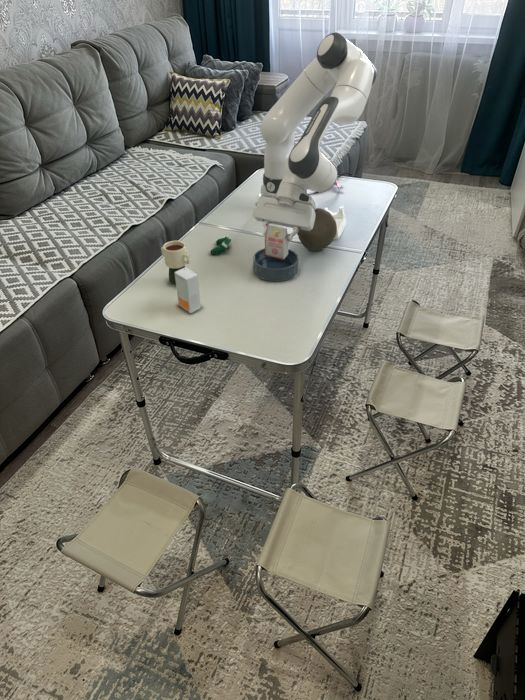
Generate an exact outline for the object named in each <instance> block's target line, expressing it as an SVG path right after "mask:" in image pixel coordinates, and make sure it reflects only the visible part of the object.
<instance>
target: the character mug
mask: <svg viewBox="0 0 525 700" xmlns="http://www.w3.org/2000/svg"><path fill="white" fill-rule="evenodd" d="M160 251H161V256H162V257H163V258H164V259H163V260H164V264H165V266H166V267H167V268H168V282H169V283H170V284H171V285H174V286H176V281H175V272H176V271H178V270H180V269H183V268H186V265H190V264H191V259H190V255H189V254H188V251H187V246H186V243H185V242H184V241H181V240H171V241H167V242H165V243H164V244H163V245H162V246H161V248H160Z"/></svg>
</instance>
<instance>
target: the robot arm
mask: <svg viewBox="0 0 525 700" xmlns="http://www.w3.org/2000/svg"><path fill="white" fill-rule="evenodd" d="M377 71H378V70H377V68H376V67H375V65H374V63H373V62H372V61H370V60H369V59H368V57H367V56H366V54H365V53H363V51H362V50H361V49H360V48H359V47H356V45H354V44H353V43H352V42H351V41H349V40H348V39H347V37H346V36H344V35H343V34H341V33H340V32H337V31H334V32H331V33H329V34H327V35H325V37H324V38H323V39H322V41H321V42H320V44H319V45H318V47H317V51H316V56H315V58H314V59H312V60H311V62H310V63H309V64H308V65H307V66H306V67H305V68H304V69H303V71H301V73H300V74H299V75H298V76H297V77H296V79H295V80H294V81H293V82H292V83H291V85H290V86H289V87H287V89H286V91H285V92H284V93H283V94H282V95H281V97H279V99H278V100H277V101H276V102H275V103H274V105H273V106H272V107H271V108H270V109H269V110H268V111H267V113H266V114H265V115H264V116H263V118H262V120H261V122H260V135H261V137H262V139H263V141H265V146H264V147H265V148H264V154H263V174H262V185H261V186H260V193H259V195H258V196H259V197H258V200H257V204H256V206H255V208H254V211H253V217H254V219H255V220H256V222H261V223H262V225H263V229H264V230H263V236H264V237H265V235H266V229H267V225H274V226H279V227H284V228H291V229H292V232H291V233H288V235H287V238H286V239H287V240H288V241H289V242H292V241H293V239H294V237H295V236H296V235H297V233H298V231H299V229H301V230H306V231H311V230H312V229H313V226H314V222H315V216H316V214H315V211H314V210H315V209H316V208H317V203H316V200H315V199H314V198H313V197H312V196H311V195H316V194H319V193H325V192H328V191H329V190H330V189H332V188H333V187H334V186H335V185H334V184H335V182H336V180H337V181H338V179H339V178H341V177H342V176H345V175H349V176H353V174H352V173H351V172H343V173H341V174H339V173H338V169H337V168H336V166H335V165H334V164H333V163H332V162H331V161H330V160H329V158H327V157H326V156H325V155H324V154H323V152H322V151H321V142H322V140H323V139H324V137H325V135H326V133H327V131H328V130H329V127H330V126H331V125H332V123H333V124H337V125H351V124H352V123H355V122H357V121H358V120H359V119H360V117H361V116H362V114H363V112H364V110H365V107H366V105H367V102H368V99H369V96H370V93H371V90H372V87H373V85H374V84H375V81H376V78H377V73H378V72H377ZM332 88H333V90H332ZM330 90H332V92H331V95H329V96H326V95H327V94H328V93H329V92H330ZM325 96H326V97H325ZM324 97H325V98H324ZM322 99H323V100H322ZM321 100H322V101H321ZM320 101H321V102H320ZM319 103H320V104H319ZM318 104H319V105H318ZM317 105H318V107H316V106H317ZM315 107H316V110H315V111H314V113H313V115H312V117H311V119H310V120H309V122H308V123H307V125H306V128H305V129H304V131H303V132H302V135H301V136H300V138H299V140H298V141H297V143H296V144H295V140H296V139H295V138H296V130H297V128H298V127H299V126H300V124H301V123H302V122H303V121H304V120H305V118H306V117H307V116H308V115H309V114H310V113H311V112H312V110H313V109H314V108H315ZM338 174H339V175H338ZM337 178H338V179H337ZM308 190H310V191H313V193H307V192H308Z"/></svg>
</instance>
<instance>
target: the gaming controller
mask: <svg viewBox="0 0 525 700" xmlns="http://www.w3.org/2000/svg"><path fill="white" fill-rule="evenodd" d="M231 242H232V237H231V236H229V235H226V236H225V237H221V238H218V239H217V240H216V241H215V243H216V245H218V246H216V247H213V248H212V249H211V250H210V254H211V255H217V254H221V253H225V252H226V251H227V249H228V247H229V245H230V244H231Z"/></svg>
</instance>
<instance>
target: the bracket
mask: <svg viewBox="0 0 525 700" xmlns="http://www.w3.org/2000/svg"><path fill="white" fill-rule="evenodd" d="M323 209H324V210H326V211H328V212H330V213H331V214H332V216H333V217H334V219H335V221H336V225H337V232H336V235H335V238H334V239H333V240H339V239H340V237H341V236H342V234H343V232H344V230H345V228H346V225H347V219H346V214H345V207H344V205H343V204H342V205H340V206H339V208H338V211H337V212H332V211H331V210H330V209H329V207H326V206H325V207H324V208H323Z"/></svg>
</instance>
